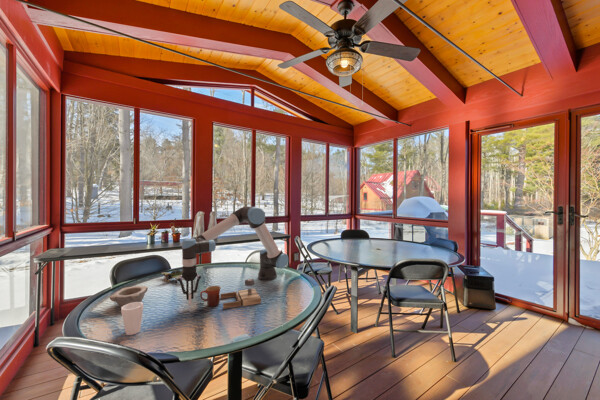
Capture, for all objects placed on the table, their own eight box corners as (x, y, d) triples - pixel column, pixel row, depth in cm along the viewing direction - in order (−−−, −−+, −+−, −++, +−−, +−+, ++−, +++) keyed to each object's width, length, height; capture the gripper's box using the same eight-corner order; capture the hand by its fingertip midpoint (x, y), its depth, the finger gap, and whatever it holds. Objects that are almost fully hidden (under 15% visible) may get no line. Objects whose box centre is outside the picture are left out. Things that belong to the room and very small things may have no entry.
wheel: (244, 283, 174) (244, 278, 174) (253, 282, 177) (253, 277, 176) (245, 286, 169) (245, 281, 169) (255, 285, 171) (255, 280, 171)
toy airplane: (204, 278, 216) (204, 266, 215) (175, 288, 195) (175, 274, 194) (181, 272, 232) (181, 261, 232) (152, 280, 211) (152, 268, 211)
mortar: (107, 312, 156) (106, 296, 156) (124, 300, 173) (124, 286, 173) (136, 311, 157) (136, 295, 157) (151, 299, 174) (150, 285, 174)
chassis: (220, 298, 175) (220, 288, 174) (254, 292, 183) (254, 283, 183) (223, 309, 158) (223, 298, 158) (260, 302, 166) (260, 292, 166)
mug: (219, 300, 171) (219, 284, 170) (222, 305, 163) (221, 289, 162) (199, 304, 165) (199, 288, 165) (201, 310, 157) (201, 292, 157)
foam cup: (134, 325, 140) (133, 301, 139) (148, 328, 137) (147, 303, 137) (117, 335, 131) (116, 308, 130) (131, 337, 128) (131, 311, 128)
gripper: (177, 268, 153) (177, 309, 153) (201, 265, 158) (202, 305, 158) (177, 264, 160) (178, 304, 160) (200, 262, 165) (201, 300, 165)
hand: (190, 304), depth 159 cm, fingers closed
